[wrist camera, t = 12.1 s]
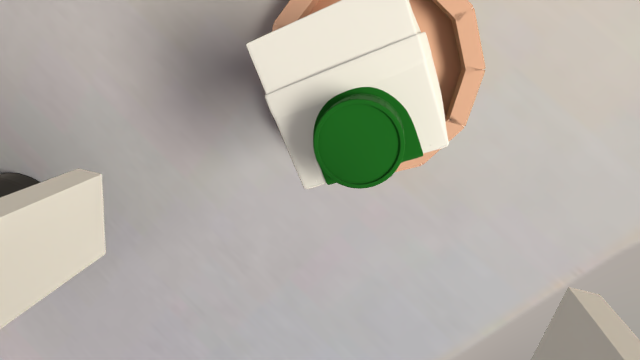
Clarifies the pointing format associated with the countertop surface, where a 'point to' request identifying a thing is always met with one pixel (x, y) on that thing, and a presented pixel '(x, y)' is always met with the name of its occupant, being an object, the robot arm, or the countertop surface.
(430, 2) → the tray
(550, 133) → the countertop surface
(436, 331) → the countertop surface
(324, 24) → the soya milk
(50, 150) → the countertop surface
